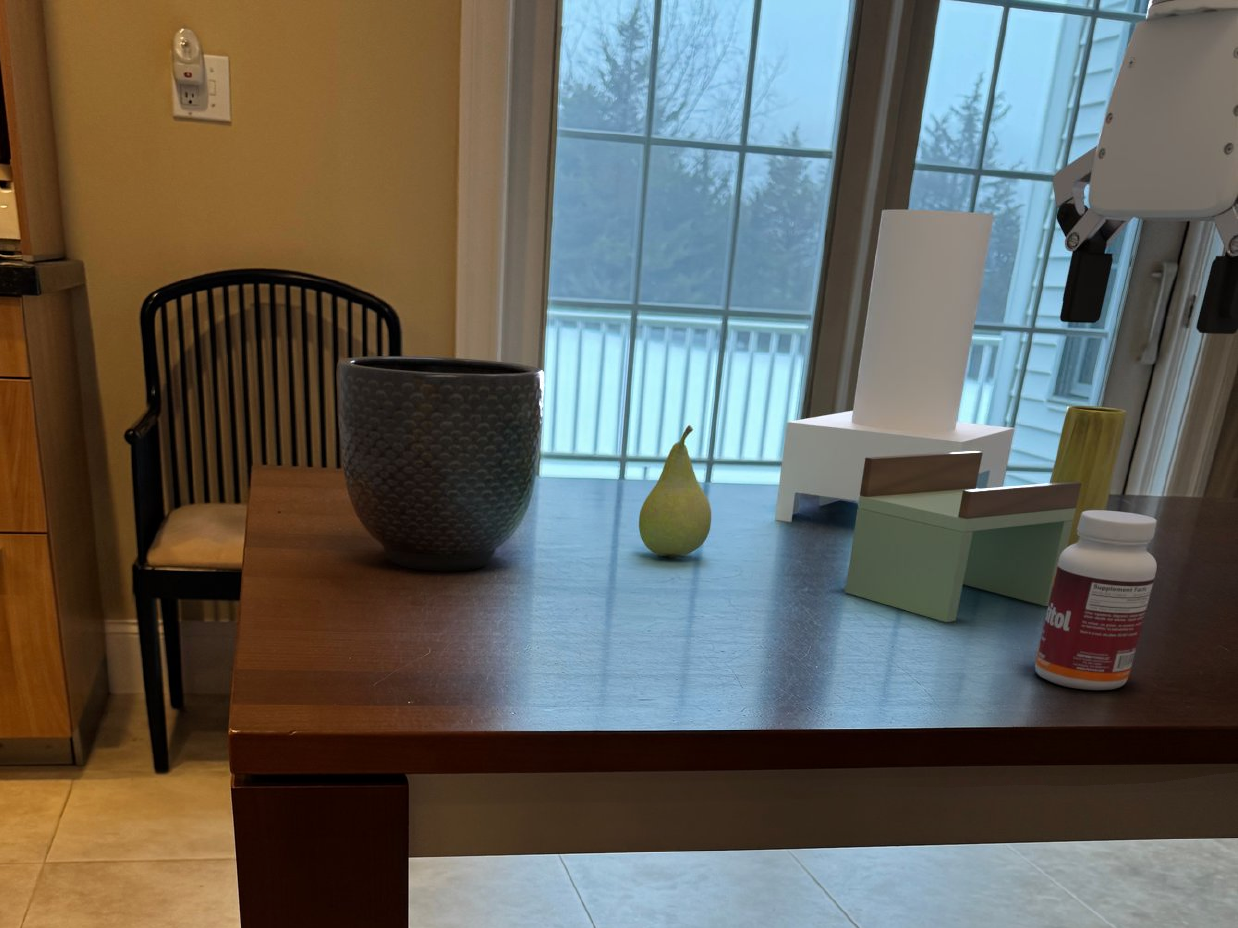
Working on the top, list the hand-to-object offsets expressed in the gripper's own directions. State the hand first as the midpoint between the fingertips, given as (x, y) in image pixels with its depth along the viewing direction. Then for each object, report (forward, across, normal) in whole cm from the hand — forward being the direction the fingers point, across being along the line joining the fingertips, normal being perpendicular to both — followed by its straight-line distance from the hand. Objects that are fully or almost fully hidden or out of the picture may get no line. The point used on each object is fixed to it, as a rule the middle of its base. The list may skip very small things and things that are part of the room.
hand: (1144, 327), depth 80 cm
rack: (+22, +20, -11) cm, 32 cm away
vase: (+22, +26, -32) cm, 47 cm away
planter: (+22, +48, +24) cm, 58 cm away
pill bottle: (+22, -1, -1) cm, 22 cm away
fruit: (+22, +42, +2) cm, 48 cm away
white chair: (+22, +50, -33) cm, 64 cm away
